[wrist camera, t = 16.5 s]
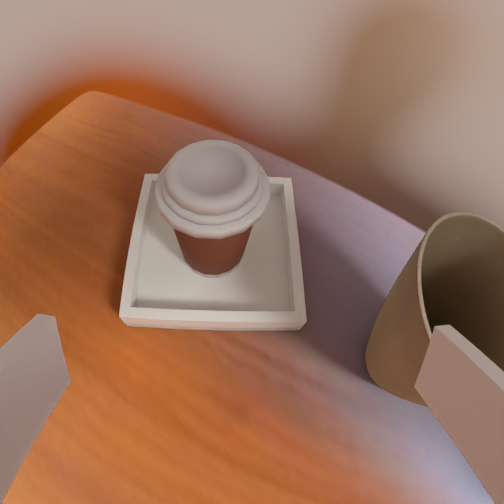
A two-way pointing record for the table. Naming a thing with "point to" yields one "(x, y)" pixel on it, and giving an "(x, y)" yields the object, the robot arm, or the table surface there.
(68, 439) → the table surface
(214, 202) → the coffee cup
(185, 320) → the tray
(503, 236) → the plant pot
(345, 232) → the table surface
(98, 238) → the table surface
